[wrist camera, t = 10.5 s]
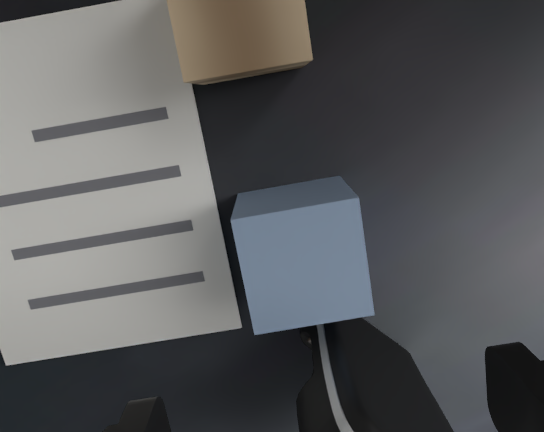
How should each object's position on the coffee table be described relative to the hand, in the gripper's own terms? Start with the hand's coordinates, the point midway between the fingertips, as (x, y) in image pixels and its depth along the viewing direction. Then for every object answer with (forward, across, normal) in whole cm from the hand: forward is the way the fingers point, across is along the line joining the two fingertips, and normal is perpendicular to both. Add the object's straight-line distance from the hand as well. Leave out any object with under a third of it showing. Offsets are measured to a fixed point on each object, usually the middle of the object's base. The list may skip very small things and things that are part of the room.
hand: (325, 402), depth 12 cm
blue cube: (+15, 0, 0) cm, 15 cm away
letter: (+15, +11, -4) cm, 19 cm away
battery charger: (+15, -2, +7) cm, 17 cm away
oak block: (+15, +1, -11) cm, 18 cm away
